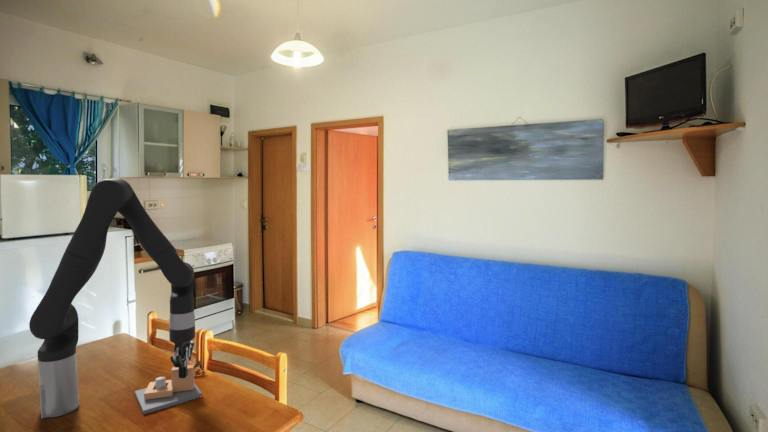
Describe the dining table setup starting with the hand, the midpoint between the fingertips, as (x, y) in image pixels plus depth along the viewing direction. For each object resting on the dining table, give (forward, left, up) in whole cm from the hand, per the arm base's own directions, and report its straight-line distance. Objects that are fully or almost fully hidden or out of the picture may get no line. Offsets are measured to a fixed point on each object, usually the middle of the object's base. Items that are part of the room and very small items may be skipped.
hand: (183, 377), depth 137 cm
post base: (-4, +5, -7) cm, 9 cm away
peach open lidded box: (-3, +5, -6) cm, 8 cm away
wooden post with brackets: (+7, +16, -7) cm, 19 cm away
